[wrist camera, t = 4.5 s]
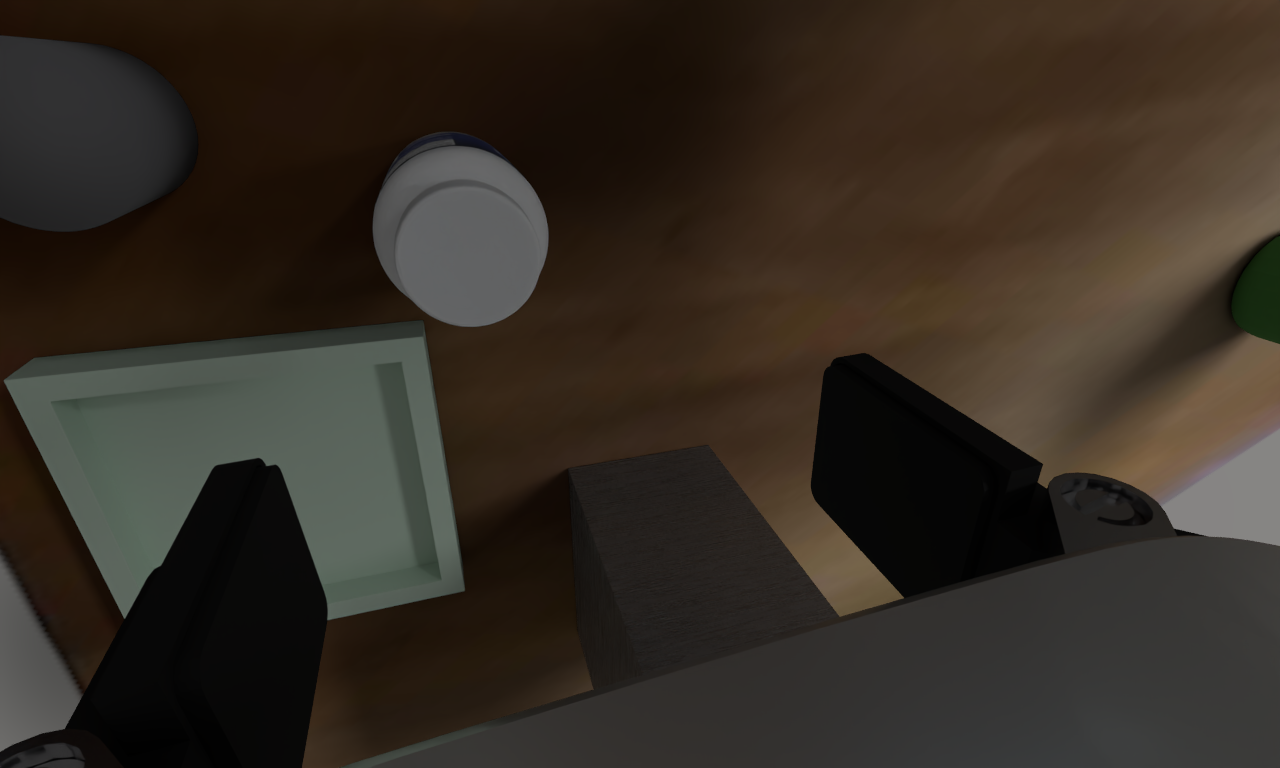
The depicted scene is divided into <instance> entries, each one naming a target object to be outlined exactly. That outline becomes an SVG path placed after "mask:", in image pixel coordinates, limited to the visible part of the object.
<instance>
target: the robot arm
mask: <svg viewBox="0 0 1280 768" xmlns="http://www.w3.org/2000/svg"><path fill="white" fill-rule="evenodd" d="M1042 466H1043V464H1042V463H1040V462H1039V461H1037V460H1036V459H1034V458H1033V457H1031V456H1029V455H1028V454H1026V453H1025V452H1023V451H1021V450H1020V449H1018V448H1017V447H1015V446H1013V445H1012V444H1010V443H1009V442H1007V441H1006V440H1004V439H1002V438H1001V437H999V436H998V435H996V434H994V433H993V432H991V431H990V430H988V429H986V428H985V427H983V426H982V425H980V424H979V423H977V422H975V421H974V420H972V419H971V418H969V417H967V416H966V415H964V414H963V413H961V412H959V411H958V410H956V409H955V408H953V407H951V406H950V405H948V404H947V403H945V402H944V401H942V400H940V399H939V398H937V397H936V396H934V395H932V394H931V393H929V392H928V391H926V390H924V389H923V388H921V387H920V386H918V385H917V384H915V383H913V382H912V381H910V380H909V379H907V378H905V377H904V376H902V375H901V374H899V373H897V372H896V371H894V370H893V369H891V368H890V367H888V366H886V365H885V364H883V363H882V362H880V361H878V360H877V359H875V358H874V357H872V356H870V355H869V354H866V353H861V354H855V355H850V356H844V357H838V358H836V359H834V360H833V361H832V363H831V365H830V367H828V368H826V370H825V372H824V376H823V384H822V392H821V401H820V409H819V418H818V426H817V435H816V444H815V452H814V461H813V469H812V478H811V490H812V494H813V497H814V499H815V501H816V502H817V503H818V504H819V505H820V507H821V508H822V509H823V510H824V511H825V512H826V513H827V514H828V515H829V516H830V517H831V519H832V520H833V521H834V522H835V523H836V524H837V525H838V526H839V527H840V528H841V529H842V530H843V532H844V533H845V534H846V535H847V536H848V537H849V538H850V539H851V540H852V541H853V542H854V544H855V545H856V546H857V547H858V548H859V549H860V550H861V551H862V552H863V553H864V554H865V556H866V557H867V558H868V559H869V560H870V561H871V562H872V563H873V564H874V565H875V566H876V567H877V569H878V570H879V571H880V572H881V573H882V574H883V575H884V576H885V577H886V578H887V579H888V581H889V582H890V583H891V584H892V585H893V586H894V587H895V588H896V589H897V590H898V591H899V593H900V594H901V595H902V596H903V597H904V599H900V600H897V601H893V602H890V603H886V604H883V605H879V606H876V607H872V608H869V609H865V610H862V611H858V612H855V613H851V614H848V615H845V616H841V617H838V618H834V619H831V620H827V621H824V622H821V623H817V624H814V625H810V626H807V627H803V628H800V629H797V630H793V631H790V632H786V633H783V634H780V635H776V636H773V637H769V638H766V639H763V640H759V641H756V642H752V643H749V644H746V645H742V646H739V647H735V648H732V649H729V650H725V651H722V652H718V653H715V654H712V655H708V656H705V657H702V658H698V659H695V660H691V661H688V662H685V663H681V664H678V665H674V666H671V667H668V668H664V669H661V670H658V671H654V672H651V673H647V674H644V675H641V676H637V677H634V678H631V679H627V680H624V681H621V682H617V683H614V684H611V685H607V686H604V687H601V688H597V689H594V690H591V691H587V692H584V693H581V694H577V695H574V696H571V697H567V698H564V699H561V700H557V701H554V702H551V703H547V704H544V705H541V706H538V707H534V708H531V709H528V710H524V711H521V712H518V713H514V714H511V715H508V716H504V717H501V718H498V719H494V720H491V721H488V722H484V723H481V724H478V725H474V726H471V727H468V728H464V729H461V730H458V731H454V732H451V733H448V734H445V735H441V736H438V737H435V738H432V739H429V740H425V741H422V742H419V743H416V744H413V745H409V746H406V747H403V748H400V749H397V750H393V751H390V752H387V753H384V754H381V755H377V756H374V757H371V758H368V759H365V760H361V761H358V762H355V763H352V764H349V765H346V766H343V767H340V768H1280V546H1276V545H1272V544H1266V543H1260V542H1255V541H1249V540H1242V539H1234V538H1224V537H1223V538H1222V537H1208V536H1204V535H1199V534H1195V533H1191V532H1186V531H1182V530H1177V529H1174V528H1173V527H1172V524H1171V523H1170V521H1169V519H1168V517H1167V515H1166V513H1165V511H1164V510H1163V509H1162V507H1161V506H1160V505H1159V503H1158V502H1156V501H1155V500H1154V499H1153V498H1151V497H1150V496H1149V495H1147V494H1146V493H1144V492H1142V491H1141V490H1139V489H1137V488H1135V487H1133V486H1131V485H1129V484H1126V483H1124V482H1121V481H1118V480H1116V479H1113V478H1109V477H1105V476H1101V475H1096V474H1088V473H1065V474H1062V475H1059V476H1056V477H1054V478H1053V479H1052V480H1051V481H1050V482H1049V485H1048V488H1047V489H1046V488H1045V487H1043V486H1042V485H1040V484H1039V483H1037V482H1038V478H1039V475H1040V472H1041V469H1042ZM327 619H328V607H327V600H326V596H325V592H324V590H323V587H322V584H321V581H320V578H319V575H318V573H317V570H316V567H315V564H314V561H313V559H312V556H311V553H310V550H309V547H308V544H307V542H306V539H305V536H304V533H303V530H302V528H301V525H300V522H299V519H298V516H297V513H296V511H295V508H294V505H293V502H292V499H291V497H290V494H289V491H288V488H287V485H286V482H285V480H284V477H283V474H282V472H281V469H280V468H279V466H278V465H276V464H275V465H270V466H266V464H265V463H264V461H263V460H262V459H260V458H254V459H249V460H243V461H237V462H231V463H226V464H220V465H216V466H214V468H213V469H212V471H211V472H210V474H209V476H208V478H207V480H206V482H205V484H204V486H203V487H202V489H201V491H200V493H199V495H198V497H197V499H196V501H195V503H194V504H193V506H192V508H191V510H190V512H189V514H188V516H187V518H186V519H185V521H184V523H183V525H182V527H181V529H180V531H179V533H178V535H177V536H176V538H175V540H174V542H173V544H172V546H171V548H170V550H169V551H168V553H167V555H166V557H165V559H164V561H163V563H162V565H161V566H159V567H157V568H155V569H154V570H153V571H152V572H151V574H150V575H149V576H148V577H147V579H146V581H145V583H144V585H143V587H142V588H141V590H140V592H139V594H138V596H137V597H136V599H135V601H134V603H133V605H132V607H131V608H130V610H129V612H128V614H127V616H126V618H125V619H124V621H123V623H122V625H121V627H120V629H119V630H118V632H117V634H116V636H115V638H114V640H113V641H112V643H111V645H110V647H109V649H108V651H107V652H106V654H105V656H104V658H103V660H102V662H101V663H100V665H99V667H98V669H97V671H96V673H95V674H94V676H93V678H92V680H91V682H90V684H89V685H88V687H87V689H86V691H85V693H84V695H83V696H82V698H81V700H80V702H79V704H78V706H77V707H76V710H75V711H74V713H73V715H72V717H71V719H70V720H69V723H68V724H67V726H66V728H65V729H63V730H58V731H53V732H48V733H42V734H39V735H37V736H35V737H32V738H29V739H27V740H24V741H21V742H19V743H16V744H14V745H12V746H10V747H8V748H6V749H4V750H3V751H1V752H0V768H302V763H303V758H304V752H305V746H306V740H307V735H308V729H309V723H310V717H311V712H312V706H313V700H314V694H315V689H316V683H317V677H318V671H319V666H320V660H321V654H322V648H323V642H324V637H325V631H326V625H327Z"/></svg>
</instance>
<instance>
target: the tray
mask: <svg viewBox="0 0 1280 768" xmlns="http://www.w3.org/2000/svg"><path fill="white" fill-rule="evenodd" d="M4 382H5V384H6V386H7V388H8V390H9V392H10V394H11V396H12V398H13V400H14V402H15V404H16V406H17V408H18V410H19V412H20V414H21V416H22V418H23V420H24V422H25V424H26V426H27V428H28V430H29V432H30V434H31V436H32V438H33V440H34V441H35V443H36V445H37V447H38V449H39V451H40V453H41V455H42V457H43V459H44V461H45V463H46V465H47V467H48V469H49V471H50V473H51V475H52V477H53V479H54V481H55V483H56V485H57V487H58V489H59V491H60V493H61V495H62V497H63V499H64V501H65V503H66V505H67V507H68V509H69V511H70V512H71V514H72V516H73V518H74V520H75V522H76V524H77V526H78V528H79V530H80V532H81V534H82V536H83V538H84V540H85V542H86V544H87V546H88V548H89V550H90V552H91V554H92V556H93V558H94V560H95V562H96V564H97V566H98V568H99V570H100V572H101V574H102V576H103V578H104V580H105V581H106V583H107V585H108V587H109V589H110V591H111V593H112V595H113V597H114V599H115V601H116V603H117V605H118V607H119V609H120V611H121V613H122V615H123V617H124V619H125V618H126V616H127V614H128V612H129V610H130V608H131V607H132V605H133V603H134V601H135V599H136V597H137V596H138V594H139V592H140V590H141V588H142V587H143V585H144V583H145V581H146V579H147V577H148V576H149V575H150V574H151V572H152V571H153V570H154V569H155V568H157V567H159V566H161V565H162V563H163V561H164V559H165V557H166V555H167V553H168V551H169V550H170V548H171V546H172V544H173V542H174V540H175V538H176V536H177V535H178V533H179V531H180V529H181V527H182V525H183V523H184V521H185V519H186V518H187V516H188V514H189V512H190V510H191V508H192V506H193V504H194V503H195V501H196V499H197V497H198V495H199V493H200V491H201V489H202V487H203V486H204V484H205V482H206V480H207V478H208V476H209V474H210V472H211V471H212V469H213V468H214V466H216V465H220V464H226V463H231V462H237V461H243V460H249V459H254V458H260V459H262V460H263V461H264V463H265V464H266V466H270V465H275V464H276V465H278V466H279V468H280V469H281V472H282V474H283V477H284V480H285V482H286V485H287V488H288V491H289V494H290V497H291V499H292V502H293V505H294V508H295V511H296V513H297V516H298V519H299V522H300V525H301V528H302V530H303V533H304V536H305V539H306V542H307V544H308V547H309V550H310V553H311V556H312V559H313V561H314V564H315V567H316V570H317V573H318V575H319V578H320V581H321V584H322V587H323V590H324V592H325V596H326V600H327V607H328V619H327V620H331V619H335V618H340V617H345V616H350V615H354V614H359V613H364V612H368V611H373V610H378V609H383V608H387V607H392V606H397V605H401V604H406V603H411V602H415V601H420V600H425V599H430V598H434V597H439V596H444V595H448V594H453V593H458V592H463V591H465V586H464V573H463V563H462V556H461V550H460V544H459V538H458V532H457V526H456V519H455V513H454V507H453V501H452V495H451V489H450V482H449V476H448V470H447V464H446V458H445V452H444V445H443V439H442V433H441V427H440V421H439V415H438V408H437V402H436V396H435V390H434V384H433V378H432V371H431V365H430V359H429V353H428V347H427V341H426V334H425V328H424V322H423V320H418V321H408V322H397V323H387V324H377V325H367V326H356V327H346V328H336V329H326V330H315V331H305V332H295V333H284V334H274V335H264V336H254V337H243V338H233V339H223V340H213V341H202V342H192V343H182V344H172V345H161V346H151V347H141V348H131V349H120V350H110V351H100V352H90V353H79V354H69V355H59V356H49V357H38V358H33V359H32V360H31V361H29V362H28V363H26V364H25V365H24V366H22V367H21V368H20V369H18V370H17V371H16V372H14V373H13V374H11V375H10V376H9V377H7V378H6V379H5V380H4Z"/></svg>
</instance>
